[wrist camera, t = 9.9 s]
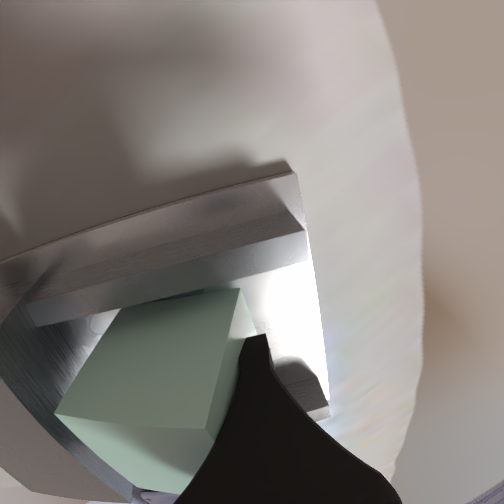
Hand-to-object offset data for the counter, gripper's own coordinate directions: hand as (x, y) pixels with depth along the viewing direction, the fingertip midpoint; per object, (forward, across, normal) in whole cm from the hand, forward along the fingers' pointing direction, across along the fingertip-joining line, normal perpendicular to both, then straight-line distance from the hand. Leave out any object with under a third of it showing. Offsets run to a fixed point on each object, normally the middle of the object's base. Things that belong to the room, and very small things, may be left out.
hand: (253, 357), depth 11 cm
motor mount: (+3, +6, +1) cm, 7 cm away
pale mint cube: (+2, +2, 0) cm, 3 cm away
